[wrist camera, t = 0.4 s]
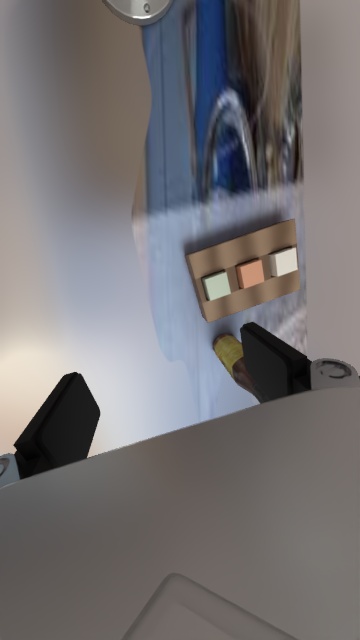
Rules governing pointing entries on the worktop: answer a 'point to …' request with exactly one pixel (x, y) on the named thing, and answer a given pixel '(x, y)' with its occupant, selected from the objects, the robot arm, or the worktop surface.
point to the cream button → (283, 261)
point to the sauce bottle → (237, 365)
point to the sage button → (216, 285)
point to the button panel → (238, 253)
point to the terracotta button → (249, 273)
